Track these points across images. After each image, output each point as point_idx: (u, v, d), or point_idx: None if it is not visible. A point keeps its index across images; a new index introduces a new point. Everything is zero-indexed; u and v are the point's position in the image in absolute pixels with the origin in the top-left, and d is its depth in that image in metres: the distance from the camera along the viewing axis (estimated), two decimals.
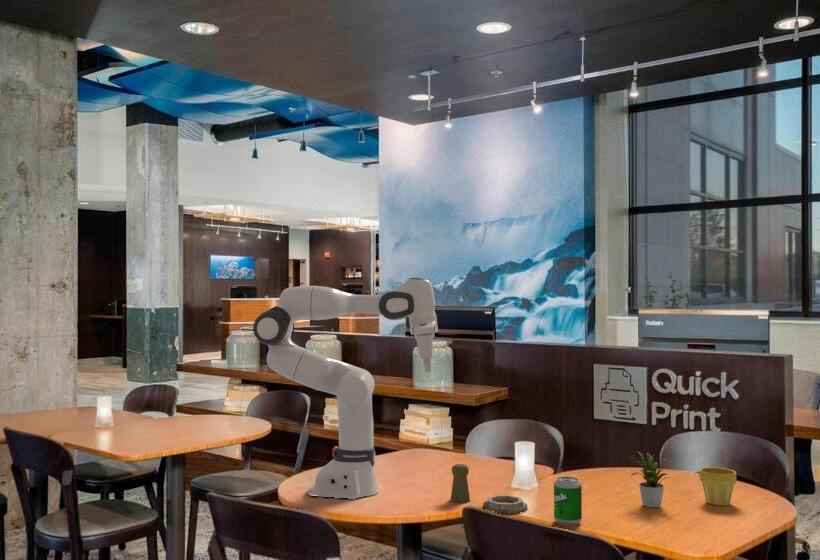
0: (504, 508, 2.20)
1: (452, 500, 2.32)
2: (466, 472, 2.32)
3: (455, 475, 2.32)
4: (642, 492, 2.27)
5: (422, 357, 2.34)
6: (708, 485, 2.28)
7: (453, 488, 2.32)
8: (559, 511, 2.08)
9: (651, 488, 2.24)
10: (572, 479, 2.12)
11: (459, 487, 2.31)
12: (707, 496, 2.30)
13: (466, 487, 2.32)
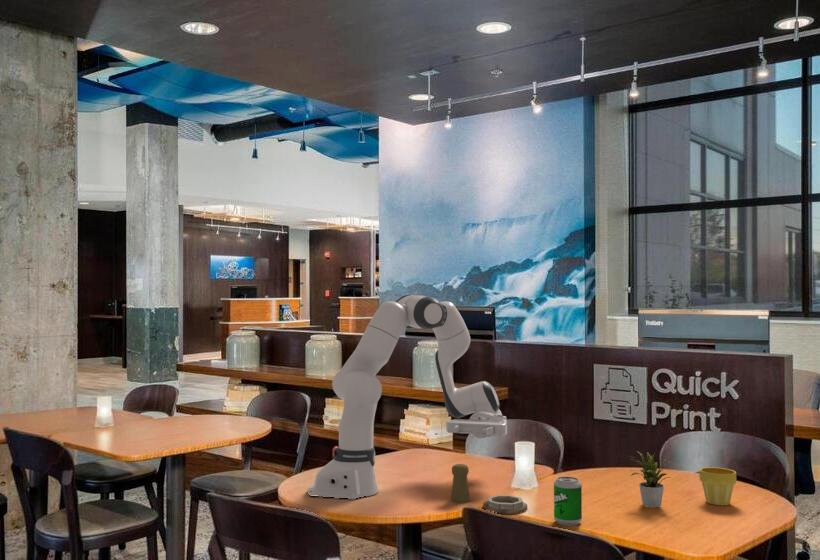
0: (504, 508, 2.20)
1: (452, 500, 2.32)
2: (466, 472, 2.32)
3: (455, 475, 2.32)
4: (642, 492, 2.27)
5: (504, 426, 2.47)
6: (708, 485, 2.28)
7: (453, 488, 2.32)
8: (559, 511, 2.08)
9: (651, 488, 2.24)
10: (572, 479, 2.12)
11: (459, 487, 2.31)
12: (707, 496, 2.30)
13: (466, 487, 2.32)
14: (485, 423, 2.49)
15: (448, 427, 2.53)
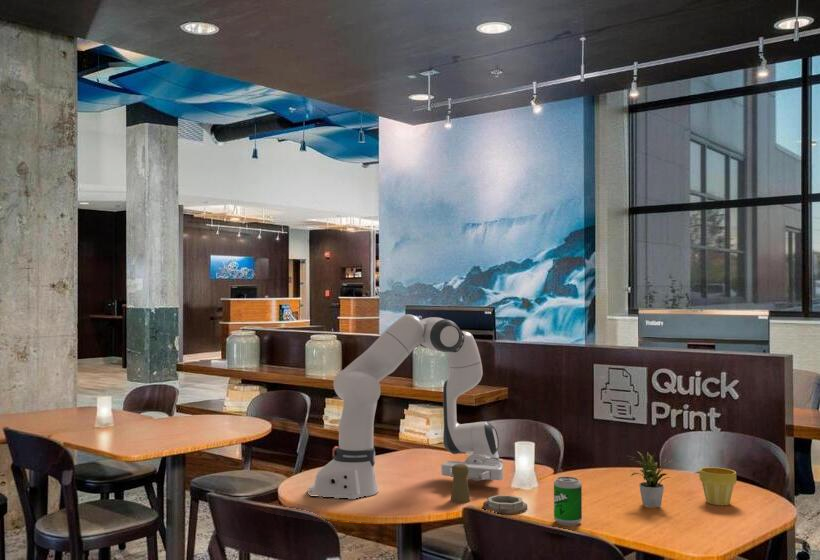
0: (504, 508, 2.20)
1: (452, 500, 2.32)
2: (466, 472, 2.32)
3: (455, 475, 2.32)
4: (642, 492, 2.27)
5: (500, 471, 2.42)
6: (708, 485, 2.28)
7: (453, 488, 2.32)
8: (559, 511, 2.08)
9: (651, 488, 2.24)
10: (572, 479, 2.12)
11: (459, 487, 2.31)
12: (707, 496, 2.30)
13: (466, 487, 2.32)
14: (481, 467, 2.45)
15: (443, 470, 2.48)
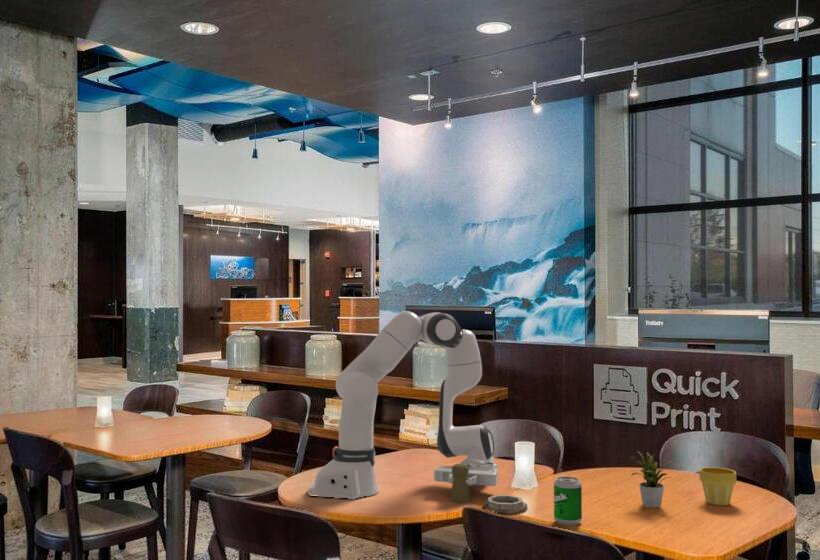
0: (504, 508, 2.20)
1: (452, 500, 2.32)
2: (466, 472, 2.32)
3: (455, 475, 2.32)
4: (642, 492, 2.27)
5: (494, 476, 2.34)
6: (708, 485, 2.28)
7: (453, 488, 2.32)
8: (559, 511, 2.08)
9: (651, 488, 2.24)
10: (572, 479, 2.12)
11: (459, 487, 2.31)
12: (707, 496, 2.30)
13: (466, 487, 2.32)
14: (475, 472, 2.37)
15: (436, 475, 2.40)
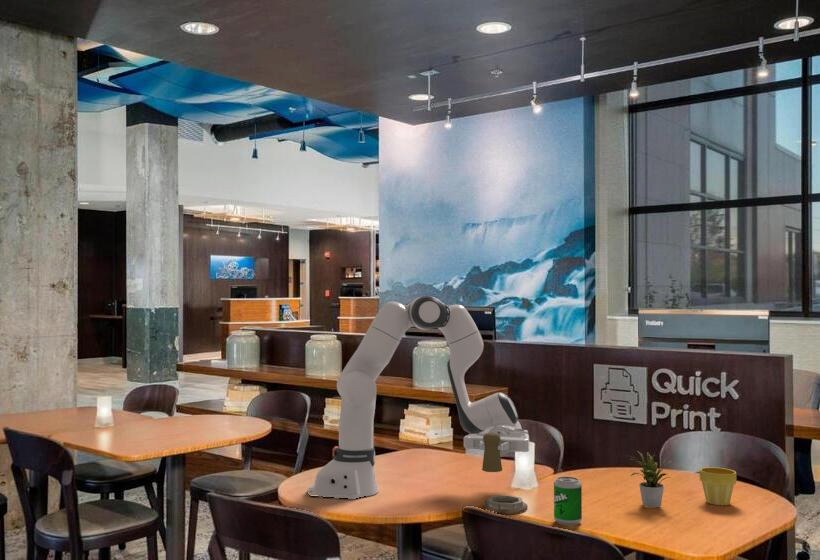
0: (504, 508, 2.20)
1: (484, 469, 2.27)
2: (498, 440, 2.27)
3: (487, 444, 2.27)
4: (642, 492, 2.27)
5: (526, 442, 2.29)
6: (708, 485, 2.28)
7: (485, 457, 2.27)
8: (559, 511, 2.08)
9: (651, 488, 2.24)
10: (572, 479, 2.12)
11: (491, 456, 2.26)
12: (707, 496, 2.30)
13: (498, 456, 2.27)
14: (506, 438, 2.32)
15: (466, 443, 2.35)
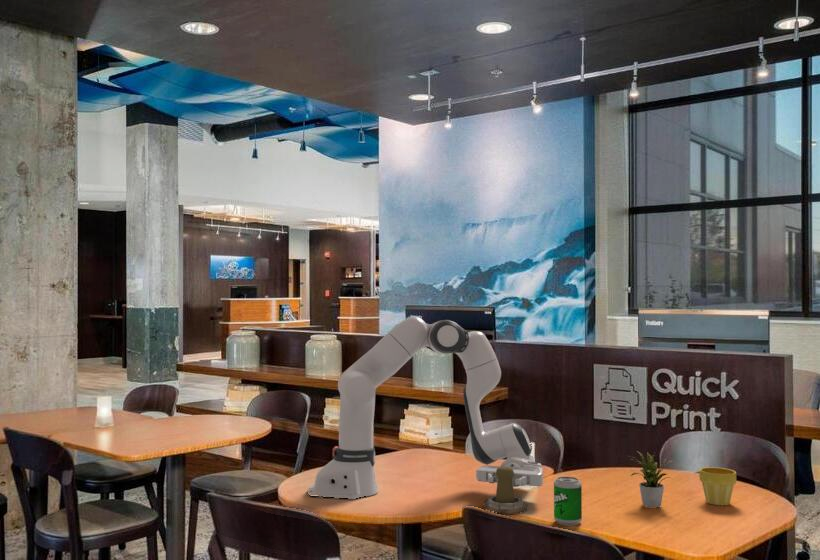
0: (504, 508, 2.20)
1: None
2: (512, 475, 2.24)
3: (500, 478, 2.24)
4: (642, 492, 2.27)
5: (540, 476, 2.26)
6: (708, 485, 2.28)
7: (498, 492, 2.24)
8: (559, 511, 2.08)
9: (651, 488, 2.24)
10: (572, 479, 2.12)
11: (505, 491, 2.23)
12: (707, 496, 2.30)
13: (512, 490, 2.24)
14: (519, 472, 2.28)
15: (478, 475, 2.32)
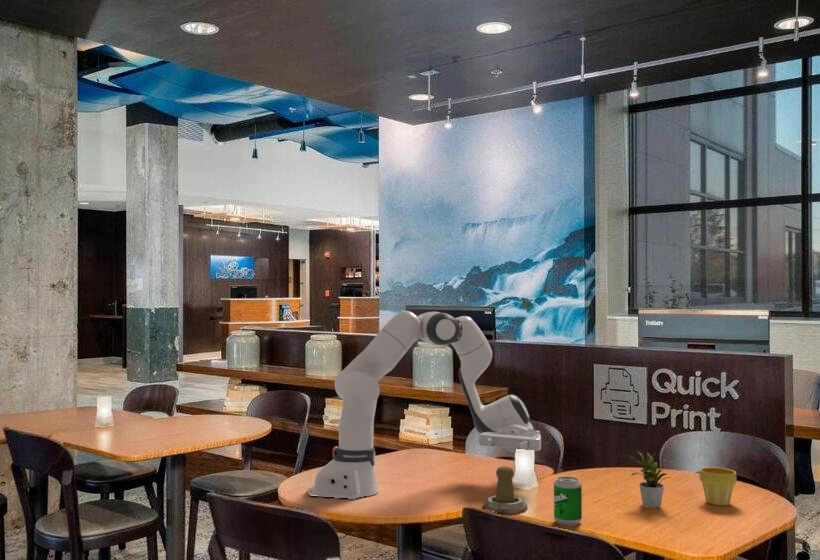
0: (504, 508, 2.20)
1: None
2: (512, 475, 2.24)
3: (500, 478, 2.24)
4: (642, 492, 2.27)
5: (538, 441, 2.41)
6: (708, 485, 2.28)
7: (498, 492, 2.24)
8: (559, 511, 2.08)
9: (651, 488, 2.24)
10: (572, 479, 2.12)
11: (505, 491, 2.23)
12: (707, 496, 2.30)
13: (512, 490, 2.24)
14: (519, 437, 2.43)
15: (480, 440, 2.47)
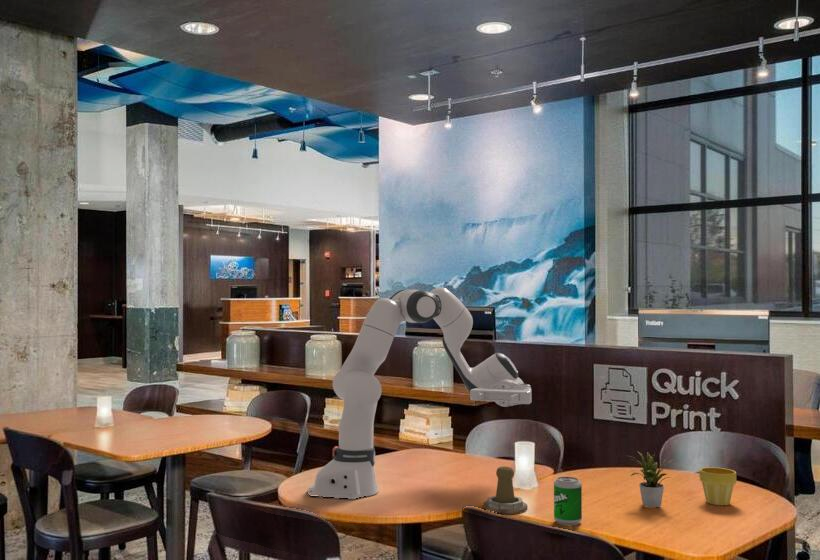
0: (504, 508, 2.20)
1: None
2: (512, 475, 2.24)
3: (500, 478, 2.24)
4: (642, 492, 2.27)
5: (529, 393, 2.45)
6: (708, 485, 2.28)
7: (498, 492, 2.24)
8: (559, 511, 2.08)
9: (651, 488, 2.24)
10: (572, 479, 2.12)
11: (505, 491, 2.23)
12: (707, 496, 2.30)
13: (512, 490, 2.24)
14: (510, 390, 2.48)
15: (472, 395, 2.51)
